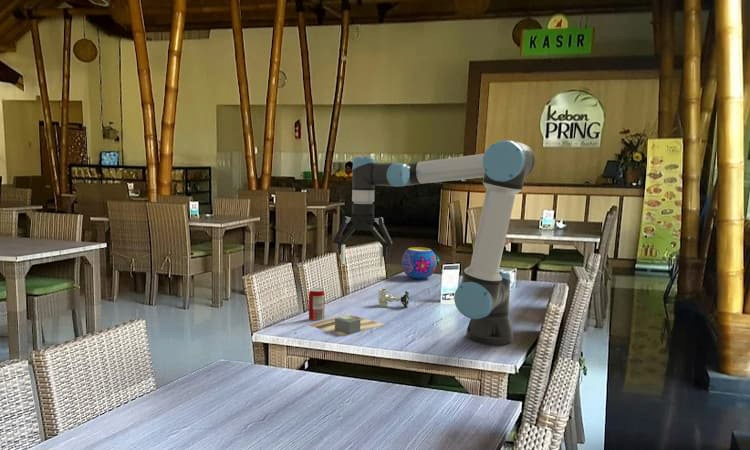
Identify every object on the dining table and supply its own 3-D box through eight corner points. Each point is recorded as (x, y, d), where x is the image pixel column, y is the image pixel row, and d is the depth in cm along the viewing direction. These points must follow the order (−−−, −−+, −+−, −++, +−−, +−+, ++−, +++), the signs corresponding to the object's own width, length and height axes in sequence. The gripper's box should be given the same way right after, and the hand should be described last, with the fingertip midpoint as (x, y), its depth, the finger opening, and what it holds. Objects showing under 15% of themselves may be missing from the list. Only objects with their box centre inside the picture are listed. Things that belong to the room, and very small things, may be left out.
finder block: (360, 331, 189) (360, 318, 189) (349, 334, 186) (349, 321, 185) (345, 327, 194) (345, 314, 194) (334, 329, 190) (334, 317, 190)
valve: (376, 307, 227) (405, 309, 224) (376, 291, 227) (406, 293, 224) (380, 303, 234) (408, 305, 231) (380, 287, 233) (409, 289, 230)
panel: (385, 327, 199) (385, 324, 198) (343, 339, 184) (343, 336, 184) (348, 317, 211) (348, 314, 211) (307, 328, 196) (307, 324, 196)
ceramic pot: (443, 280, 284) (444, 250, 283) (413, 283, 275) (414, 252, 274) (423, 273, 299) (424, 245, 298) (394, 276, 290) (395, 247, 289)
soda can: (315, 318, 208) (315, 286, 207) (327, 321, 205) (327, 288, 204) (305, 322, 203) (305, 289, 202) (318, 324, 201) (318, 291, 199)
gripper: (401, 203, 193) (400, 265, 195) (330, 201, 199) (330, 261, 201) (397, 204, 186) (396, 268, 188) (324, 202, 191) (323, 264, 193)
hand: (362, 265), depth 194 cm, fingers open, 13 cm apart
